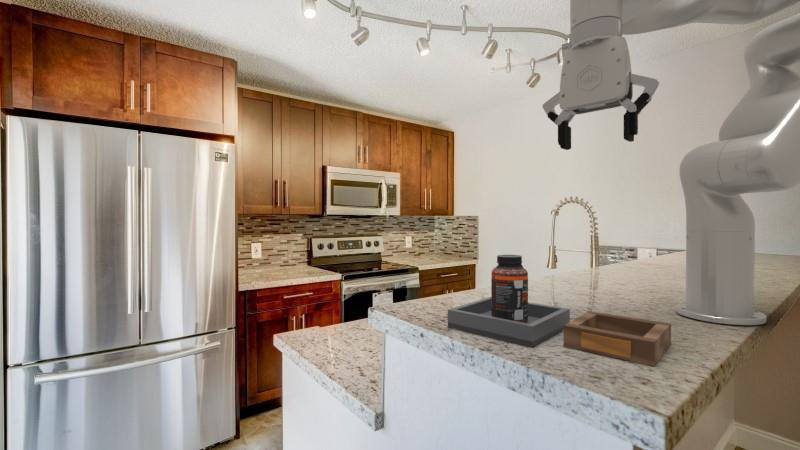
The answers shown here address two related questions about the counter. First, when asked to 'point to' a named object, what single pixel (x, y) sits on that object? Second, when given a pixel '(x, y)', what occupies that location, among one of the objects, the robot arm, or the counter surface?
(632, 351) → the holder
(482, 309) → the tray
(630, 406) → the counter surface
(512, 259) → the supplement bottle
